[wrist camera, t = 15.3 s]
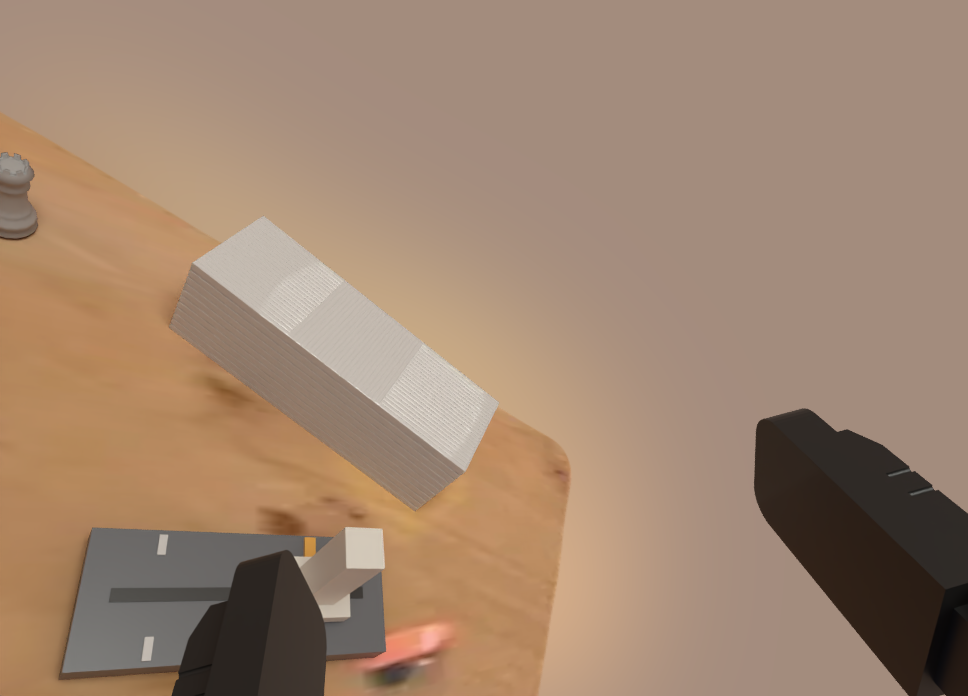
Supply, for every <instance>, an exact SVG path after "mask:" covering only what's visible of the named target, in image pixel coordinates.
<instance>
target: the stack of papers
mask: <svg viewBox="0 0 968 696" xmlns="http://www.w3.org/2000/svg"><path fill="white" fill-rule="evenodd" d="M190 269H191V270H189V273H188V275H189V276H188V277H187V279H186V283H185V284H184V287H183V288H184V289H183V290H182V292H181V294H182V295H180V298H179V301H178V303H177V307H176V309H175V313H174V314H173V318H172V320H171V324H170V325H169V328H170V329H171V330H173V331H174V332H175V333H177V334H178V335H179V336H181V337H182V338H183V339H185V340H186V341H187V342H189V343H190V344H191V345H193V346H194V347H196V348H197V349H198V350H200V351H201V352H202V353H204V354H205V355H206V356H208V357H209V358H210V359H212V360H213V361H214V362H216V363H217V364H218V365H220V366H221V367H222V368H224V369H225V370H226V371H228V372H229V373H230V374H232V375H233V376H234V377H236V378H237V379H238V380H240V381H241V382H242V383H244V384H245V385H246V386H248V387H249V388H250V389H252V390H253V391H254V392H256V393H257V394H258V395H260V396H261V397H262V398H264V399H265V400H267V401H268V402H269V403H271V404H272V405H273V406H275V407H276V408H277V409H279V410H280V411H281V412H283V413H284V414H285V415H287V416H288V417H289V418H291V419H292V420H293V421H295V422H296V423H297V424H299V425H300V426H301V427H303V428H304V429H305V430H307V431H308V432H309V433H311V434H312V435H313V436H315V437H316V438H317V439H319V440H320V441H321V442H323V443H324V444H325V445H327V446H328V447H329V448H331V449H332V450H333V451H335V452H336V453H338V454H339V455H340V456H342V457H343V458H344V459H346V460H347V461H348V462H350V463H351V464H352V465H354V466H355V467H356V468H358V469H359V470H360V471H362V472H363V473H364V474H366V475H367V476H368V477H370V478H371V479H372V480H374V481H375V482H376V483H378V484H379V485H380V486H382V487H383V488H384V489H386V490H387V491H388V492H390V493H391V494H392V495H394V496H395V497H396V498H398V499H399V500H400V501H402V502H403V503H404V504H406V505H407V506H409V507H410V508H411V509H413V510H414V511H416V510H417V509H418V508H420V507H421V506H422V505H424V504H425V503H426V502H427V501H429V500H430V499H431V498H433V497H434V496H435V495H436V494H438V493H439V492H440V491H442V490H443V489H444V488H445V487H447V486H448V485H449V484H450V483H452V482H453V481H454V480H455V479H457V478H458V477H459V476H460V475H462V474H463V473H464V472H465V471H466V469H467V467H468V465H469V463H470V461H471V459H472V457H473V455H474V453H475V451H476V449H477V447H478V445H479V443H480V441H481V439H482V437H483V435H484V433H485V431H486V429H487V427H488V425H489V423H490V421H491V419H492V417H493V415H494V413H495V410H496V408H497V406H498V404H499V402H498V401H497V400H495V399H494V398H493V397H491V396H490V395H489V394H488V393H486V392H485V391H483V389H481V388H480V387H479V386H478V385H476V384H475V383H474V382H473V381H471V380H470V379H469V378H468V377H466V376H465V375H464V374H462V373H461V372H460V371H459V370H457V369H456V368H455V367H454V366H452V365H451V364H450V363H449V362H447V361H446V360H445V359H444V358H442V357H441V356H440V355H438V354H437V353H436V352H435V351H433V350H432V349H431V348H430V347H428V346H427V345H426V344H425V343H423V342H422V341H421V340H419V339H418V338H417V337H416V336H415V335H413V334H412V333H411V332H409V331H408V330H407V329H406V328H404V327H403V326H402V325H401V324H399V323H398V322H397V321H395V320H394V319H393V318H392V317H390V316H389V315H388V314H387V313H385V312H384V311H383V310H382V309H380V308H379V307H378V306H377V305H375V304H374V303H373V302H372V301H370V300H369V299H368V298H366V297H365V296H364V295H363V294H362V293H360V292H359V291H358V290H356V289H355V288H354V287H353V286H351V285H350V284H349V283H348V282H346V281H345V280H344V279H343V278H341V277H340V276H339V275H338V274H336V273H335V272H334V271H332V270H331V269H330V268H329V267H327V266H326V265H325V264H324V263H322V262H321V261H320V260H319V259H317V258H316V257H315V256H313V255H312V254H311V253H310V252H308V251H307V250H306V249H305V248H303V247H302V246H301V245H300V244H298V243H297V242H296V241H295V240H293V239H292V238H291V237H289V236H288V235H287V234H286V233H284V232H283V231H282V230H281V229H279V228H278V227H277V226H276V225H274V224H273V223H272V222H271V221H269V220H268V219H267V218H266V217H264V216H262V217H261V218H259V219H258V220H257V221H255V222H253V223H252V224H251V225H249V226H247V227H246V228H244V229H243V230H241V231H240V232H238V233H237V234H235V235H233V236H232V237H230V238H229V239H227V240H226V241H224V242H223V243H221V244H220V245H218V246H217V247H215V248H214V249H212V250H211V251H209V252H208V253H206V254H205V255H203V256H202V257H200V258H199V259H197V260H196V261H194V262H193V263H192V265H191V268H190Z"/></svg>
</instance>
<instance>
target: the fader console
mask: <svg viewBox="0 0 968 696" xmlns="http://www.w3.org/2000/svg"><path fill="white" fill-rule="evenodd" d="M332 538H334V537H314V536H289V535H264V534H239V533H213V532H188V531H163V530H138V529H113V528H92V530H91V533H90V536H89V539H88V544H87V548H86V553H85V558H84V562H83V567H82V572H81V577H80V581H79V586H78V591H77V595H76V600H75V605H74V610H73V614H72V619H71V624H70V628H69V633H68V638H67V643H66V647H65V652H64V657H63V661H62V666H61V671H60V676H59V680H65V679H79V678H93V677H107V676H121V675H135V674H149V673H163V672H177V671H179V669H180V666H181V662H182V659H183V655H184V652H185V649H186V645H187V642H188V638H189V637H190V635H191V634H192V632H193V631H194V629H195V628H196V626H197V625H198V623H199V622H200V620H201V619H202V617H203V616H204V614H205V613H206V611H207V610H208V608H209V607H210V605H214V604H217V603H221V602H225V601H228V598H229V594H230V589H231V585H232V581H233V577H234V573H235V570H236V568H237V566H238V564H239V563H240V562H243V561H246V560H250V559H254V558H258V557H261V556H265V555H269V554H272V553H276V552H280V551H283V550H289V551H290V552H291V553H292V554H293V556H298V557H312V556H313V555H315V554H316V553H317V552H318V551H319V550H320V549H321V548H322V547H324V546H325V545H326V544H327V543H328V542H329V541H330V540H331V539H332ZM324 624H325V630H326V639H327V653H326V661H331V660H345V659H359V658H373V657H376V656H378V655H380V654H382V653H384V652H386V644H385V627H384V609H383V592H382V575H381V572H380V573H378V574H377V575H375V576H374V577H372V578H371V579H370V580H368V581H367V582H365V583H364V584H362V585H361V586H360V587H358V588H357V589H355V590H354V591H353V592H351V593H350V618H348V619H347V620H345V621H341V622H324Z"/></svg>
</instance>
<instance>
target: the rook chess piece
mask: <svg viewBox="0 0 968 696" xmlns="http://www.w3.org/2000/svg"><path fill="white" fill-rule="evenodd" d="M33 178H34V171H33V169H32V168H31V167H30V166H29V162H28V161H27V159H24V160H21V155H18V154H15V153H14V157H10V156H8V153H7V152H5V153H1V157H0V237H4V238H11V239H17V238H22V237H26V236H28V235H30V234H32V233H33V232H35V230H36V228H37V226H38V223H37V220H38V219H37V213H36V210H35V209H34V208H33V206H32V205H31V203H30V202H29V201H28V196H27V191H28V190H29V189H30V181H32V179H33Z"/></svg>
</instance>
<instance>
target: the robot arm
mask: <svg viewBox="0 0 968 696" xmlns="http://www.w3.org/2000/svg"><path fill="white" fill-rule="evenodd" d="M754 478H755V479H754V490H755V496H756V500H757V503H758V505H759V508H760V510H761V512H762V514H763V516H764V518H765V519H766V521H767V522H768V524H769V525H770V526H771V527H772V529H773V530H774V531H775V532H776V533H777V535H778V536H779V537H780V538H781V540H782V541H783V542H784V543H785V545H786V546H787V547H788V548H789V550H790V551H791V552H792V553H793V554H794V556H795V557H796V558H797V559H798V560H799V562H800V563H801V564H802V565H803V567H804V568H805V569H806V570H807V572H808V573H809V574H810V575H811V576H812V578H813V579H814V580H815V581H816V583H817V584H818V585H819V586H820V588H821V589H822V590H823V591H824V592H825V593H826V595H827V596H828V597H829V599H830V600H831V601H832V602H833V603H834V605H835V606H836V607H837V608H838V610H839V611H840V612H841V613H842V614H843V616H844V617H845V618H846V619H847V621H848V622H849V623H850V624H851V626H852V627H853V628H854V629H855V630H856V632H857V633H858V634H859V635H860V637H861V638H862V639H863V640H864V641H865V643H866V644H867V645H868V646H869V648H870V649H871V650H872V651H873V652H874V654H875V655H876V656H877V657H878V659H879V660H880V661H881V662H882V663H883V664H884V666H885V667H886V668H887V670H888V671H889V672H890V673H891V675H892V676H893V677H894V678H895V679H896V681H897V682H898V683H899V684H900V686H901V687H902V688H903V689H904V690H905V692H906V693H907V694H908V695H909V696H940V695H943V694H945V695H946V696H968V513H966V512H965V511H964V510H963V509H961V508H960V507H959V506H957V505H956V504H955V503H954V502H952V501H951V500H950V499H949V498H948V497H946V496H945V495H944V494H943V493H941V492H940V491H939V490H936V491H935V490H934V489H933V487H932V485H931V484H930V483H929V482H928V481H926V480H925V479H924V478H923V477H921V476H920V475H919V474H918V473H916V472H915V471H914V472H911V470H910V468H909V466H908V465H906V464H905V463H904V462H903V461H902V460H900V459H899V458H898V457H896V456H895V455H894V454H893V453H891V452H890V451H889V450H888V449H887V448H885V447H884V446H883V445H881V444H879V443H877V442H874V441H872V440H870V439H868V438H865V437H863V436H861V435H859V434H856V433H854V432H852V431H850V430H843V431H839V432H836V431H835V430H834V429H833V428H832V427H830V426H829V425H828V424H827V423H826V422H825V421H823V420H822V419H821V418H820V417H819V416H818V415H816V414H815V413H814V412H812V411H811V410H809V409H799V410H796V411H792V412H788V413H784V414H781V415H777V416H773V417H770V418H766V419H763V420H760V421H759V423H758V424H757V429H756V449H755V477H754ZM326 653H327V639H326V630H325V624H324V620H323V616H322V613H321V610H320V608H319V606H318V604H317V602H316V600H315V598H314V596H313V594H312V592H311V590H310V588H309V586H308V584H307V582H306V580H305V578H304V576H303V574H302V572H301V570H300V568H299V566H298V564H297V562H296V560H295V558H294V556H293V554H292V553H291V552H290V551H289V550H283V551H280V552H276V553H272V554H269V555H265V556H261V557H258V558H254V559H250V560H246V561H243V562H240V563H239V564H238V566H237V568H236V570H235V573H234V577H233V581H232V585H231V589H230V594H229V598H228V601H225V602H221V603H217V604H214V605H210V607H209V608H208V610H207V611H206V613H205V614H204V616H203V617H202V619H201V620H200V622H199V623H198V625H197V626H196V628H195V629H194V631H193V632H192V634H191V635H190V637H189V638H188V642H187V645H186V649H185V652H184V655H183V659H182V662H181V666H180V669H179V672H178V674H179V680H176V682H175V686H174V689H173V693H172V696H324V684H325V669H326Z"/></svg>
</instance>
